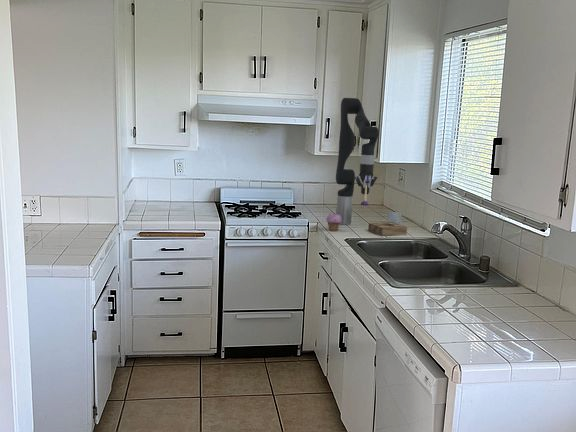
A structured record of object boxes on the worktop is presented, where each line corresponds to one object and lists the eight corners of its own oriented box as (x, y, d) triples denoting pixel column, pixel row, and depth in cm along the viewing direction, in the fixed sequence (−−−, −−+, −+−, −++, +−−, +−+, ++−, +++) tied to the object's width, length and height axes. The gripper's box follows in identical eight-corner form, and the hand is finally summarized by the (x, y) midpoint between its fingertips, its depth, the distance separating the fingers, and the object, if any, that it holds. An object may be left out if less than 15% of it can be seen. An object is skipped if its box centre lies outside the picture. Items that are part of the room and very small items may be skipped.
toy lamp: (358, 204, 326) (360, 174, 323) (362, 203, 330) (364, 174, 327) (365, 205, 323) (368, 175, 320) (370, 204, 327) (372, 175, 324)
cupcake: (324, 228, 340) (325, 211, 338) (338, 228, 342) (339, 212, 340) (328, 232, 332) (329, 214, 330) (342, 232, 333) (343, 214, 331)
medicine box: (400, 226, 355) (402, 212, 354) (400, 228, 351) (401, 213, 349) (387, 225, 357) (388, 211, 356) (387, 226, 353) (388, 212, 351)
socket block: (368, 230, 340) (368, 222, 339) (391, 229, 346) (391, 221, 345) (382, 236, 326) (383, 227, 326) (406, 234, 333) (406, 226, 332)
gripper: (374, 162, 328) (372, 192, 332) (352, 162, 323) (350, 193, 326) (381, 163, 322) (379, 194, 325) (359, 163, 316) (357, 195, 319)
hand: (364, 193), depth 325 cm, fingers closed on toy lamp
